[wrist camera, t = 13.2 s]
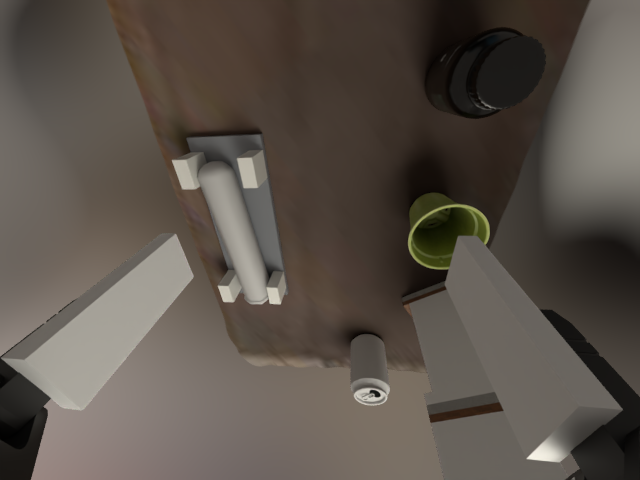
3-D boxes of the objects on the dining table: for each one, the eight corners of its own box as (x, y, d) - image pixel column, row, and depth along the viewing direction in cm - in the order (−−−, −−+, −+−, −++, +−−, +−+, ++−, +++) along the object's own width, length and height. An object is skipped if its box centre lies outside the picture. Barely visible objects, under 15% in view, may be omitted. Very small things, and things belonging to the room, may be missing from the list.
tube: (182, 167, 33) (239, 301, 46) (210, 166, 31) (262, 307, 44) (212, 157, 37) (257, 283, 50) (238, 155, 35) (279, 287, 48)
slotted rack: (262, 133, 35) (248, 140, 30) (288, 291, 50) (282, 311, 46) (190, 136, 36) (166, 144, 31) (237, 289, 52) (226, 309, 47)
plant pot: (390, 194, 37) (399, 220, 30) (457, 170, 34) (485, 193, 27) (406, 243, 41) (417, 276, 34) (467, 225, 38) (493, 258, 31)
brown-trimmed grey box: (401, 297, 48) (480, 636, 18) (456, 276, 44) (673, 668, 14) (426, 331, 52) (522, 650, 23) (478, 315, 48) (680, 678, 19)
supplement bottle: (466, 25, 26) (537, -13, 16) (498, 77, 28) (579, 72, 18) (412, 80, 29) (444, 77, 19) (444, 124, 32) (488, 141, 21)
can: (389, 347, 56) (397, 404, 46) (360, 355, 59) (361, 410, 49) (374, 327, 53) (380, 384, 43) (344, 336, 56) (343, 392, 46)
